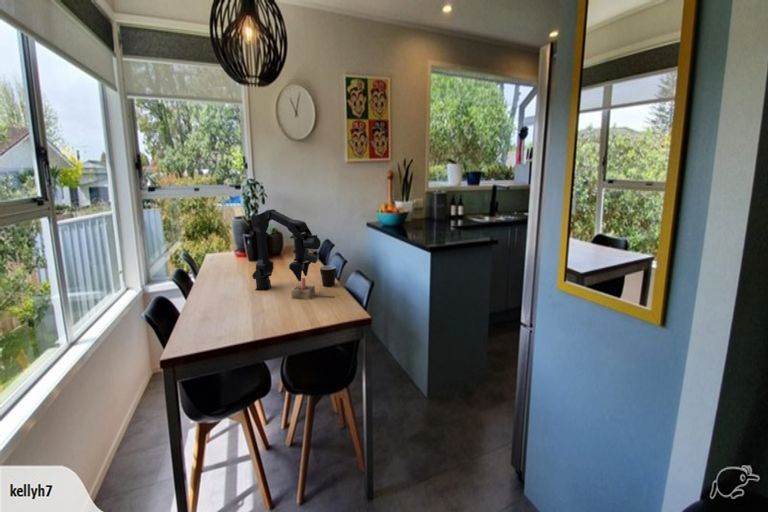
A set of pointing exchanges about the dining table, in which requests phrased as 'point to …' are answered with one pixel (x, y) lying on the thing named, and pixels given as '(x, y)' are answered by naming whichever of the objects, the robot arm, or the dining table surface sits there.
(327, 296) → the blue gray square bar
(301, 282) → the reddish pink rod
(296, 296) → the brown square holed block
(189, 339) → the dining table surface
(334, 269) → the coffee mug
